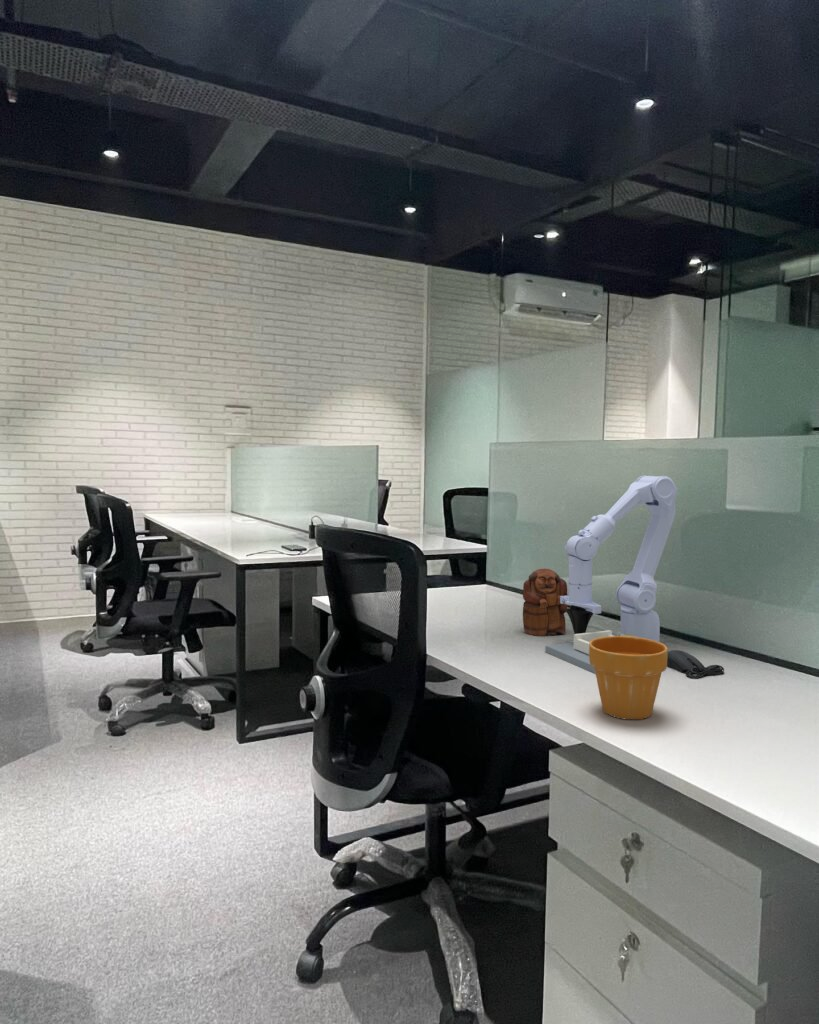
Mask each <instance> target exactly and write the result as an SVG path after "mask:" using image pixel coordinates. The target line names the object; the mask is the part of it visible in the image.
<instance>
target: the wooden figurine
mask: <svg viewBox="0 0 819 1024" xmlns="http://www.w3.org/2000/svg"><path fill="white" fill-rule="evenodd" d="M567 584H568V583H567V581H566V580H564V579H563V578H561V577H560V576H559V574H557V572H556V571H554V570H553V569H549V568H539V569H535V570H534V571H533V572H531V574H529V575H528V578H527V580H525V581H524V582H523V591H522V597H523V598H522V599H523V603H522V623H523V624H522V625H523V630H524V633H525V634H526V635H530V636H537V637H546V636H557V635H566V630H567V629H566V627H567V626H566V617H565V613H567V612H566V609H568V608H569V607H568V606H569V605H567V604H561V603H560V596H568V585H567Z"/></svg>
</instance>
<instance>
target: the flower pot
mask: <svg viewBox="0 0 819 1024" xmlns="http://www.w3.org/2000/svg"><path fill="white" fill-rule="evenodd" d="M668 651H669V649H668V647H667V646H666V644H665V643H663V642H661V641H659V642H657V641H654V640H650V639H645V638H639V637H630V636H620V635H613V636H607V637H600V638H596V639H593V640H592V641H590V643H589V660H590V664H591V665H592V666H593V667H594V669H595V673H596V674H595V673H594V674H595V677H596V682H597V687H598V693H599V697H600V702H601V707H602V710H603V712H604V713H605V714H606V713H607V714H606V715H608V714H609V715H608V716H610V715H612V716H615V717H619V718H625V719H624V720H626V719H632V720H634V719H640V720H644V719H643V718H645V719H647V717H648V718H649V717H651V716H652V714H653V710H654V705H655V703H656V702H655V701H656V698H657V693H658V689H659V686H660V682H661V676H662V673H664V671H666V670H667V668H668V667H667V655H668ZM612 716H611V717H612ZM615 717H614V718H615ZM619 718H618V719H619Z"/></svg>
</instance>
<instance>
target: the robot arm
mask: <svg viewBox="0 0 819 1024" xmlns="http://www.w3.org/2000/svg"><path fill="white" fill-rule="evenodd" d="M678 491H679V489H678V488H677V486H676V484H675V483H674V480H673V479H672V478H671V477H669V476H666V475H661V476H656V475H655V476H654V475H648V474H647V475H645V474H643V475H641V476H639V477H638V478H637V479H636V480H635V481H633V482H632V483H631V484H630V485H629V487H628V488H627V490H626V491H625V492H624V493H623V495H621V497H620V498H619V499H618V500H617V501H616V502H615V503H614V504H613V505H612V507H611V508H610V509H609V510H608V511H607V512H606V513H605V514H597V515H593V516H592V517H591V518H590V520H591V521H589V523H588V524H587V525H586V526H585V527H584V528H583V529H580V530H578V532H577V533H578V535H573V536H571V537H570V538H568V540H567V542H566V545H565V546H564V551H565V553H566V555H567V556H568V595H567V596H560V603H561V604H567V605H568V606H570V608H569V607H567V609H566V612H565V613H566V614H567V615H568V618H569V620H570V623H571V626H572V630H573V635H574V634H580V633H587V629H588V625H589V623H590V620H591V619H592V617H593V616H594V615H598V614H602V605H600V604H598V603H596V602H595V601H593V558H594V557H596V556H597V553H598V549H599V547H600V546H601V545H602V544H603V543H604V542H605V541H606V540H607V539H608V538H609V537H610V536H611V535H612V534H613V533H614V532H615V531H616V524H617V523H618V522H619V521H620V520H621V519H623V518H624V517H625V516H626V515H628V513H629V512H631V511H632V510H633V509H634V508H636V506H638V505H639V504H644V505H646V507H647V508H648V510H649V512H650V514H651V516H650V520H649V523H648V525H647V527H646V529H645V533H644V536H643V539H642V542H641V544H640V547H639V551H638V552H637V556H636V559H635V562H634V565H633V568H632V570H631V571H630V572H629V573H628V574H627V575H625V576H624V579H623V580H622V582H621V584H620V585H619V586H618V587H617V588H616V591H615V599H616V601H617V603H619V608H620V633H619V634H620V635H619V636H621V634H633V635H636V637H639V638H645V639H650V640H654V641H657V642H660V635H661V634H660V633H661V632H660V631H661V628H660V627H661V625H660V624H661V621H660V616H659V614H658V613H657V612H656V611H655V610H653V609H654V607H655V606H656V603H657V596H656V595H657V594H656V593H657V589H658V585H657V583H656V581H655V579H654V577H655V575H656V572H657V569H658V566H659V562H660V560H661V558H662V554H663V552H664V549H665V547H666V543H667V540H668V538H669V535H670V531H671V529H672V525H673V522H674V520H675V517H676V511H677V509H676V497H677V493H678Z"/></svg>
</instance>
